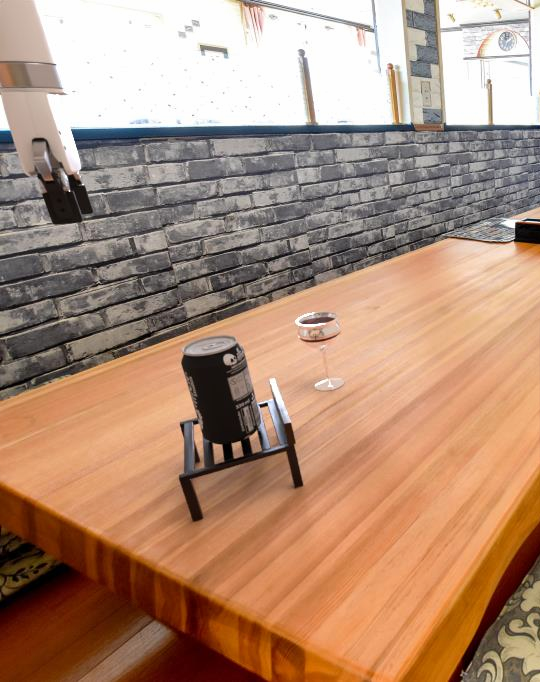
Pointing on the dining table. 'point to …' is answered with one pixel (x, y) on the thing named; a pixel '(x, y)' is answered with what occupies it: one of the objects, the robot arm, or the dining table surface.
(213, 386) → the beverage can
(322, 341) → the wineglass
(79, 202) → the robot arm
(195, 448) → the rack
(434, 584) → the dining table surface
